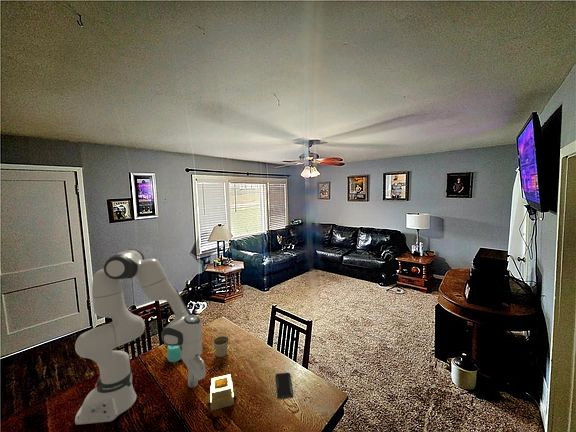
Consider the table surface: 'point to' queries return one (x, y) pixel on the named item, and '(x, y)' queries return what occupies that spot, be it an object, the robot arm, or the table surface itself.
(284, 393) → the phone
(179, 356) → the turquoise rounded container
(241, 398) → the table surface
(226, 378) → the valve body
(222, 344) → the flower pot
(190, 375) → the silver metal cylinder
